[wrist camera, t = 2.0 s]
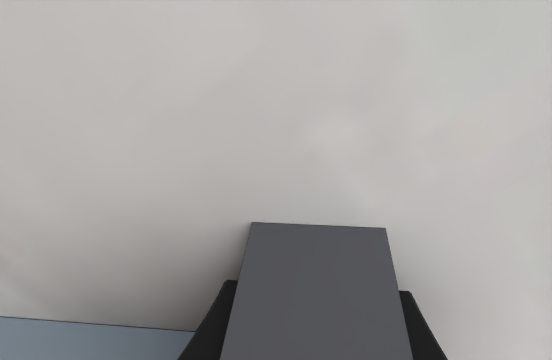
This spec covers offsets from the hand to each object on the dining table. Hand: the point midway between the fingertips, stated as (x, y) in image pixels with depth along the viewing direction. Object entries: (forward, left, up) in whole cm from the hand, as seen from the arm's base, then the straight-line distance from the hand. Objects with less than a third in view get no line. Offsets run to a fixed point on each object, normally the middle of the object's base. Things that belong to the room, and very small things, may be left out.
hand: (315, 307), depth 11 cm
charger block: (0, 0, -1) cm, 1 cm away
